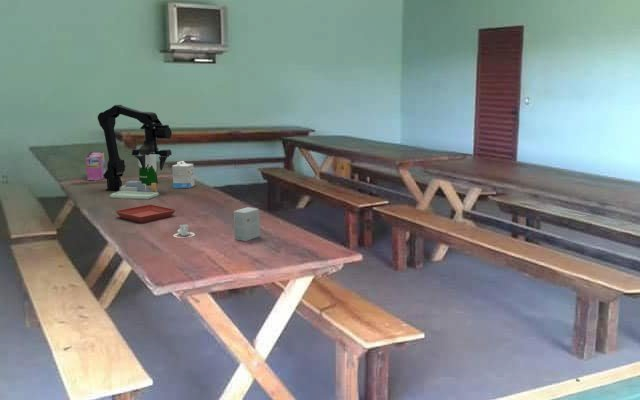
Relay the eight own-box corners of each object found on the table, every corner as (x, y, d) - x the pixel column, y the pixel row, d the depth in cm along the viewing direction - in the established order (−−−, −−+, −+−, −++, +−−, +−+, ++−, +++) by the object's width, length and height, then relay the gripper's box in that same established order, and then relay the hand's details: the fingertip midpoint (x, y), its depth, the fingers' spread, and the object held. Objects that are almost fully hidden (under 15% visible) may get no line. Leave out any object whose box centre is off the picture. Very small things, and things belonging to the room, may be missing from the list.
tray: (109, 197, 305) (108, 194, 305) (120, 193, 315) (119, 190, 314) (149, 199, 300) (148, 196, 300) (159, 195, 310) (158, 192, 310)
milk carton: (160, 182, 345) (158, 146, 341) (150, 185, 337) (147, 147, 332) (146, 181, 348) (144, 145, 344) (136, 184, 340) (133, 147, 336)
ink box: (188, 188, 327) (186, 162, 325) (173, 188, 329) (171, 162, 326) (194, 185, 336) (193, 160, 333) (179, 185, 337) (178, 160, 335)
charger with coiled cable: (177, 232, 241) (177, 222, 240) (198, 233, 240) (197, 222, 239) (170, 238, 232) (169, 228, 231) (191, 239, 231) (191, 228, 230)
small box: (248, 234, 235) (247, 206, 233) (260, 236, 232) (259, 208, 230) (233, 239, 229) (232, 210, 227) (245, 241, 226) (244, 212, 224)
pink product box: (92, 174, 375) (90, 151, 372) (106, 173, 376) (104, 151, 374) (87, 181, 352) (85, 157, 349) (102, 180, 353) (100, 156, 351)
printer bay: (119, 192, 317) (119, 187, 317) (130, 189, 327) (130, 183, 326) (136, 193, 315) (135, 187, 315) (146, 189, 325) (146, 183, 324)
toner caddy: (126, 192, 319) (125, 182, 318) (131, 190, 324) (130, 180, 323) (153, 193, 316) (153, 183, 315) (158, 191, 321) (158, 181, 320)
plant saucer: (151, 211, 278) (150, 203, 277) (177, 216, 267) (176, 209, 266) (114, 218, 264) (114, 210, 264) (140, 225, 253) (140, 217, 252)
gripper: (125, 139, 307) (127, 171, 311) (160, 140, 303) (162, 172, 307) (136, 137, 318) (138, 168, 321) (171, 138, 314) (172, 169, 317)
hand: (152, 169), depth 316 cm, fingers open, 9 cm apart
